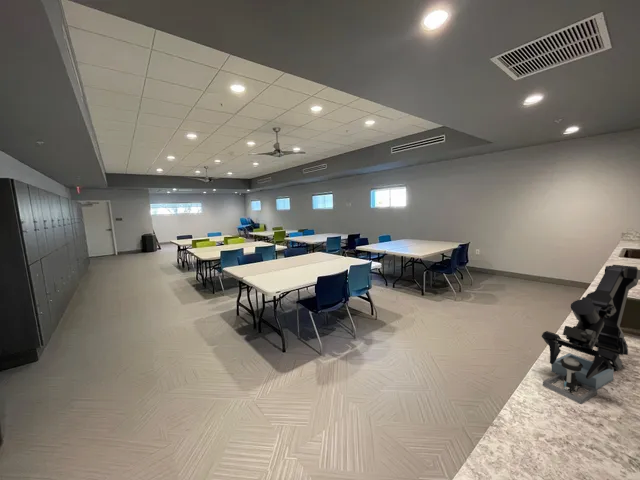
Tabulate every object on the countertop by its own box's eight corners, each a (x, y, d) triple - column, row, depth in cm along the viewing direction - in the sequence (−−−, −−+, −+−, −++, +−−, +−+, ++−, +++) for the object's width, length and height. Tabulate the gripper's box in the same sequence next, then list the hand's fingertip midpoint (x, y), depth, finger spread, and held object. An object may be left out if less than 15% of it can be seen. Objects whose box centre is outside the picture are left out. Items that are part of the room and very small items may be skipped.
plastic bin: (568, 363, 102) (569, 353, 102) (613, 380, 91) (613, 368, 91) (551, 371, 97) (551, 361, 97) (595, 390, 87) (596, 378, 86)
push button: (576, 398, 84) (577, 367, 83) (554, 388, 88) (555, 359, 87) (584, 390, 87) (585, 361, 86) (563, 382, 91) (564, 353, 91)
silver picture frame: (559, 377, 94) (559, 373, 94) (597, 393, 85) (597, 389, 85) (542, 385, 90) (542, 381, 90) (581, 404, 81) (581, 399, 81)
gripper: (545, 308, 96) (525, 345, 92) (620, 327, 79) (599, 373, 75) (556, 325, 99) (538, 361, 96) (630, 347, 82) (611, 391, 79)
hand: (568, 370), depth 86 cm, fingers open, 9 cm apart
